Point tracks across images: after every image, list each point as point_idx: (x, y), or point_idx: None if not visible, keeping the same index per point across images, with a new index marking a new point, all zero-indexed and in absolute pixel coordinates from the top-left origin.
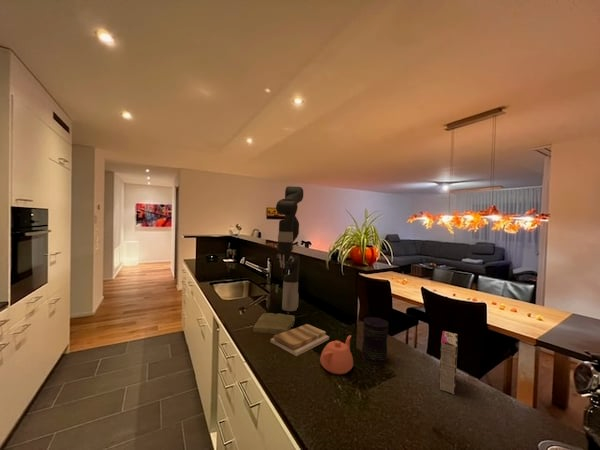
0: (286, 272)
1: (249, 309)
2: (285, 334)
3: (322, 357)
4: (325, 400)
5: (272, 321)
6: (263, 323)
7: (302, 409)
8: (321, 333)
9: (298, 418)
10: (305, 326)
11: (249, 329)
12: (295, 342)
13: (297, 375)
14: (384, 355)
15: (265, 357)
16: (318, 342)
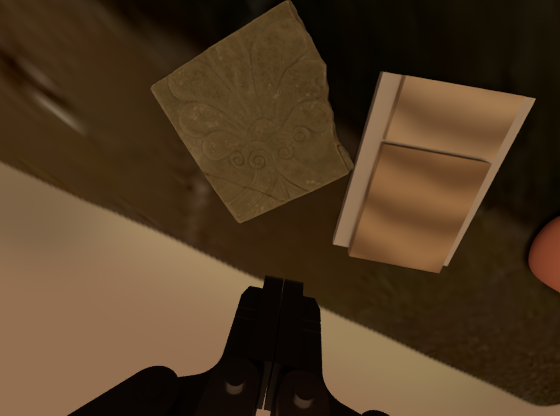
0: (318, 326)
1: (40, 53)
2: (377, 227)
3: (551, 287)
4: (557, 346)
5: (259, 154)
6: (243, 185)
7: (516, 373)
8: (507, 127)
9: (515, 387)
10: (412, 107)
11: (218, 211)
12: (436, 254)
13: (475, 315)
14: None
15: (368, 298)
16: (495, 169)
